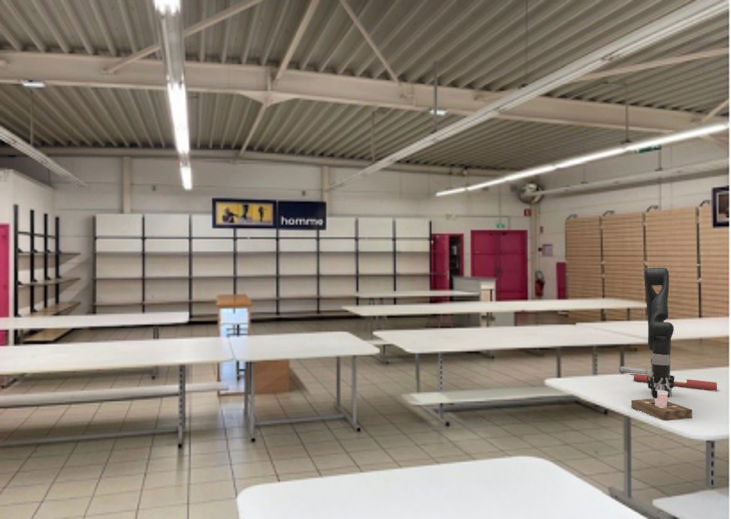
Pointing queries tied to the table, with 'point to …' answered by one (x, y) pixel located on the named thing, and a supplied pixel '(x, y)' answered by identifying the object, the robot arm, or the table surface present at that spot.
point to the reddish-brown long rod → (688, 384)
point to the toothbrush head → (635, 370)
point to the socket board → (662, 409)
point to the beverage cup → (661, 398)
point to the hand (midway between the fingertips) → (660, 397)
